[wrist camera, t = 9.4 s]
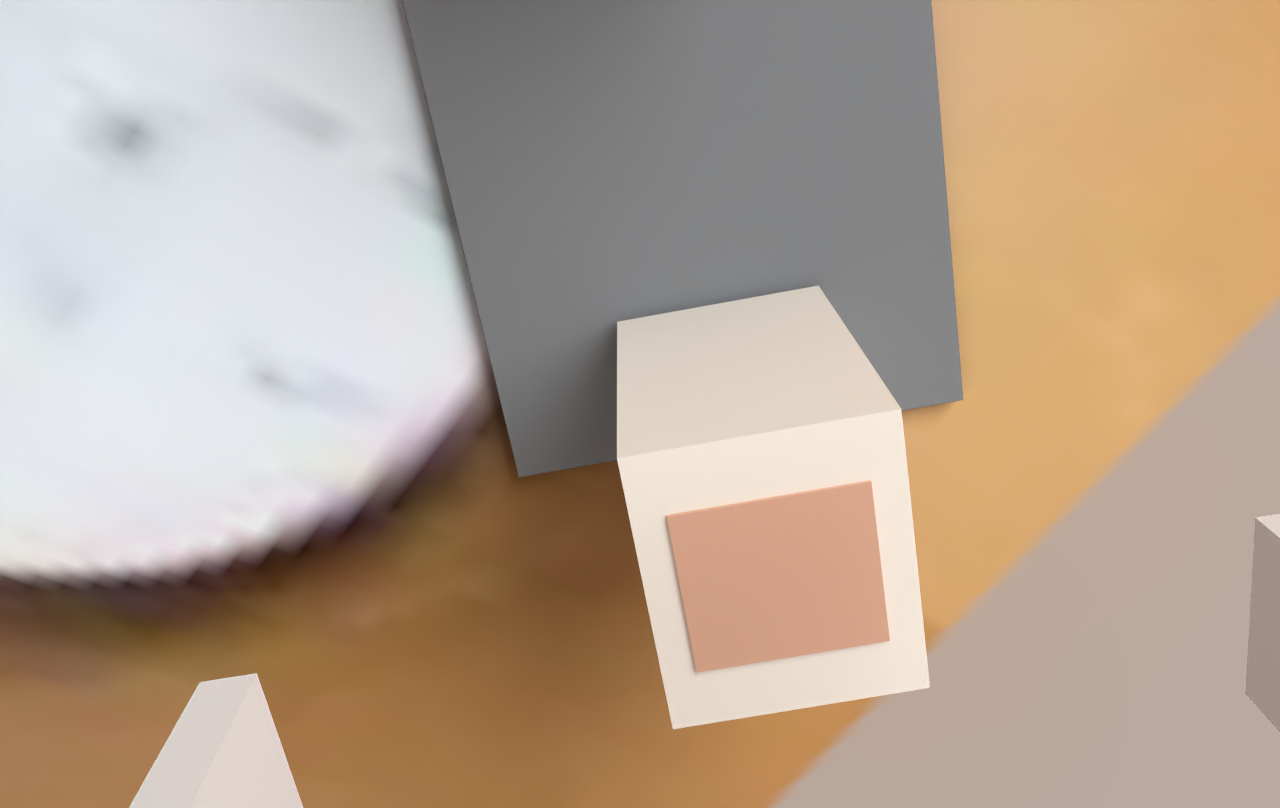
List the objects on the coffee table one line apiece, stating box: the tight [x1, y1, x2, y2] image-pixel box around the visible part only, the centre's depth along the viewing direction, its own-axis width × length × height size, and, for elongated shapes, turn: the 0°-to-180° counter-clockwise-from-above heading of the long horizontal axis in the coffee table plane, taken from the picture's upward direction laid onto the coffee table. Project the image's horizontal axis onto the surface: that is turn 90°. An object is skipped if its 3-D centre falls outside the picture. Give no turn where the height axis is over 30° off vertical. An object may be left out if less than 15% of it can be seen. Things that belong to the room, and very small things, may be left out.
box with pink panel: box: [617, 286, 930, 729], centre depth 29 cm, size 6×7×10 cm
